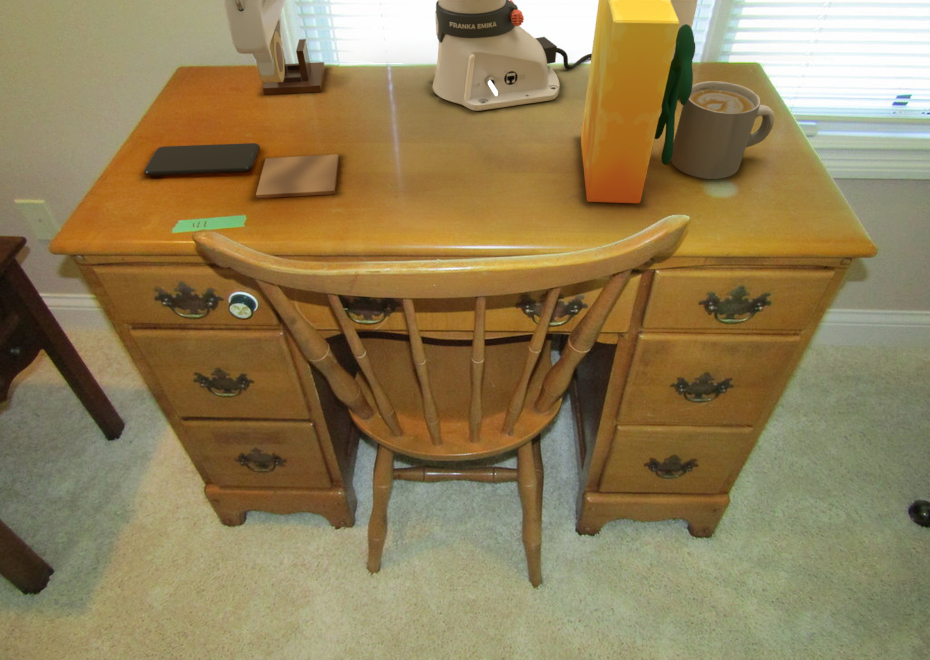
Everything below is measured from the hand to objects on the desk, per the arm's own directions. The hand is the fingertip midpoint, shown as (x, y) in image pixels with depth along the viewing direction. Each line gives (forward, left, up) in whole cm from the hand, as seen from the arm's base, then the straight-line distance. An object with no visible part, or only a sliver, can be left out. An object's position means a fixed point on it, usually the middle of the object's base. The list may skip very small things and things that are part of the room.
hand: (272, 61), depth 81 cm
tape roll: (0, 0, -3) cm, 3 cm away
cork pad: (0, +1, -17) cm, 17 cm away
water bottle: (-60, -21, -17) cm, 66 cm away
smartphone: (+15, -5, -17) cm, 23 cm away
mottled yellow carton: (-48, +4, -17) cm, 51 cm away
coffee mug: (-62, +3, -17) cm, 65 cm away
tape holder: (+4, -32, -17) cm, 37 cm away
